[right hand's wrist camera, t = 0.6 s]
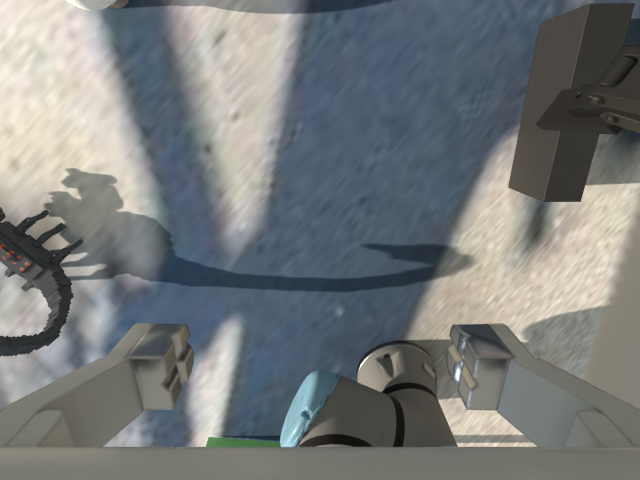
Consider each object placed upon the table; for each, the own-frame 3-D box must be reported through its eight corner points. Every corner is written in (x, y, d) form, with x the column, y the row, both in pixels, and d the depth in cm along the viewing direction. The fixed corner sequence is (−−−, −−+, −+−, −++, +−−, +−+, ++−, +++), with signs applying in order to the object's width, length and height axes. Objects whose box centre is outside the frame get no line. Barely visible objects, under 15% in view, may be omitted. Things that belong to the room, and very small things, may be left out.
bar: (539, 23, 46) (589, 3, 38) (576, 23, 46) (635, 3, 38) (508, 187, 54) (543, 201, 46) (539, 187, 54) (580, 201, 46)
